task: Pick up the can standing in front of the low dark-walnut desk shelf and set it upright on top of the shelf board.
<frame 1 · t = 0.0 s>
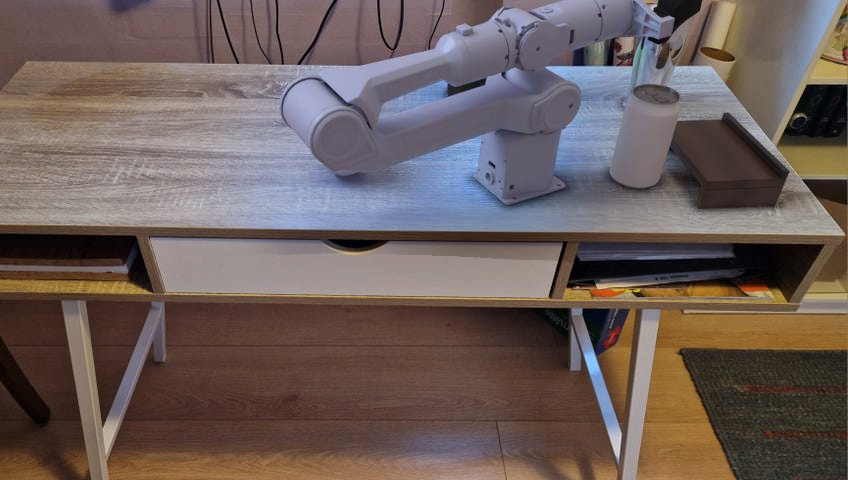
desk shelf: (708, 174, 95), on the table
beer glass: (642, 108, 111), on the table
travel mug: (468, 95, 114), on the table
can: (633, 178, 94), on the table
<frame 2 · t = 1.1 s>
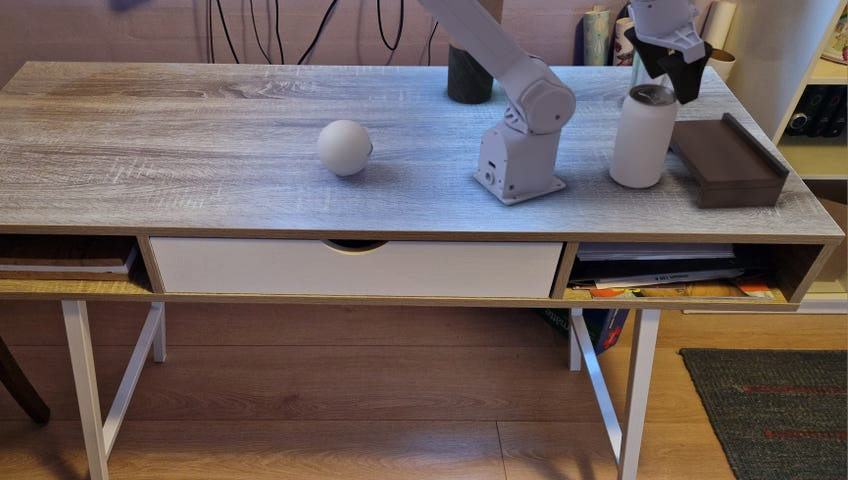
hand: (673, 87, 88), 12 cm above the table, tool tilted 25°, fingers open, 7 cm apart
can: (633, 177, 94), on the table, touching gripper
everything else where it was.
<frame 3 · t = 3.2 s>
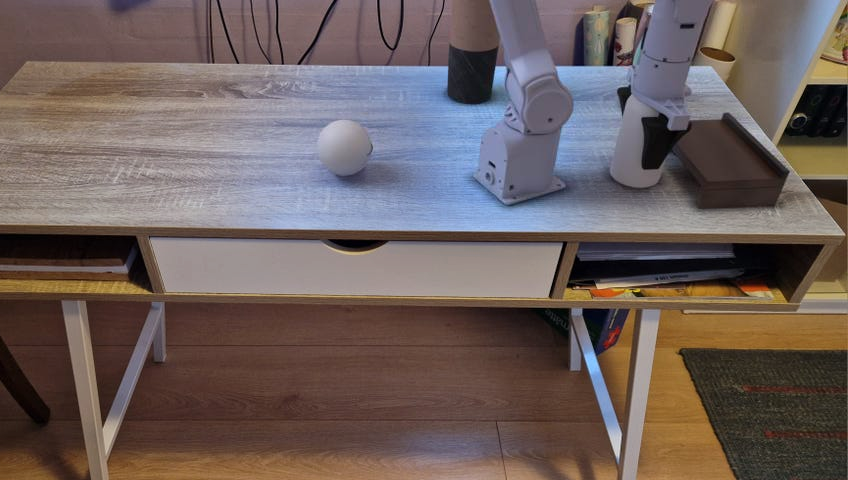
hand: (640, 154, 92), 3 cm above the table, tool pointing down, fingers closed on can, 6 cm apart
can: (633, 178, 94), on the table, touching gripper
everything else where it was.
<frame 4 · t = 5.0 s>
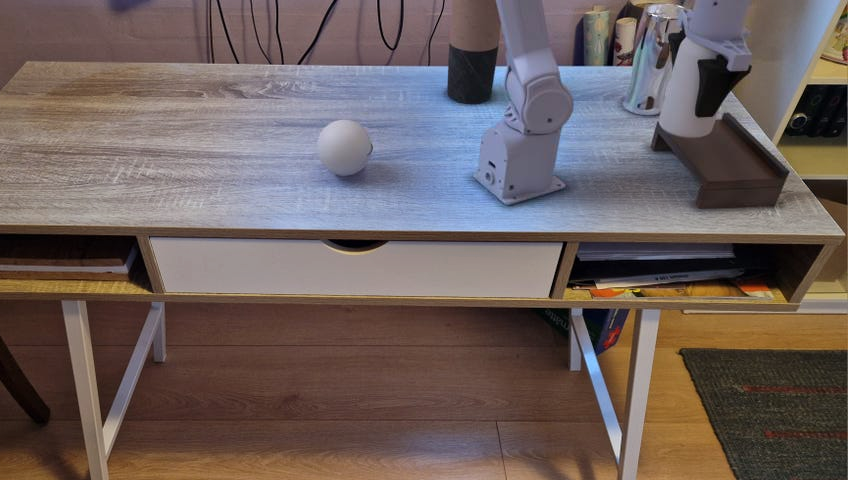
hand: (692, 103, 88), 10 cm above the table, tool pointing down, fingers closed on can, 6 cm apart
can: (683, 129, 90), point 7 cm above the table, touching gripper
everything else where it was.
when the fingers open (7 cm above the table, at t = 7.1 s): can stays where it is, resting on desk shelf.
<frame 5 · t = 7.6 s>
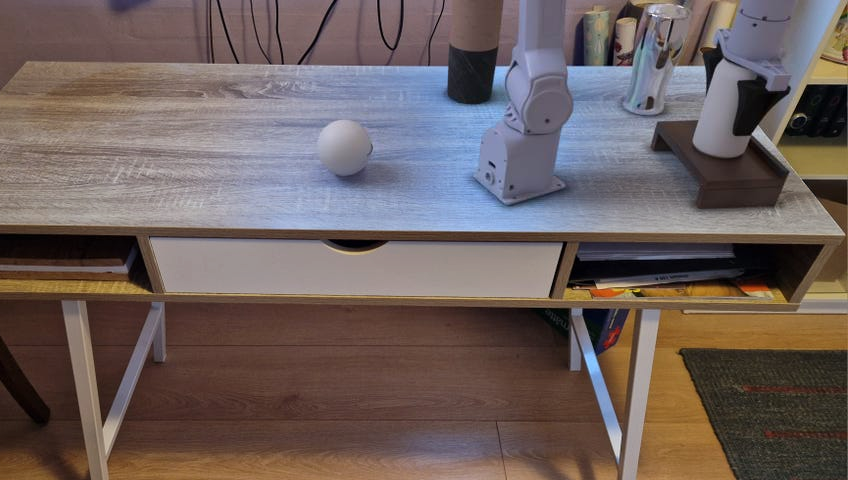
hand: (727, 120, 90), 8 cm above the table, tool pointing down, fingers open, 7 cm apart
can: (717, 149, 92), point 4 cm above the table, touching desk shelf
everything else where it was.
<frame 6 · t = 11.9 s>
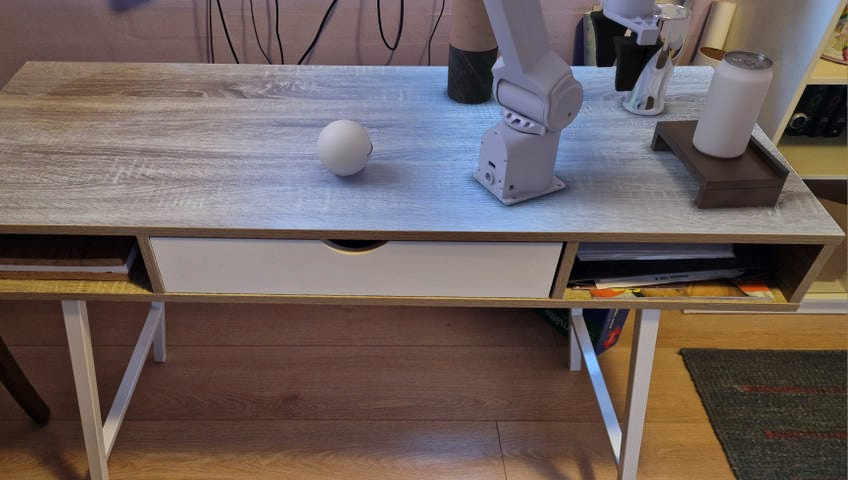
hand: (613, 78, 94), 10 cm above the table, tool pointing down, fingers open, 7 cm apart
nothing on the table moved.
at the end: can inside the target area on the desk shelf (0.1 cm from its centre), point 3.8 cm above the desk shelf's base; can tilted 0°; the gripper is holding nothing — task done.
